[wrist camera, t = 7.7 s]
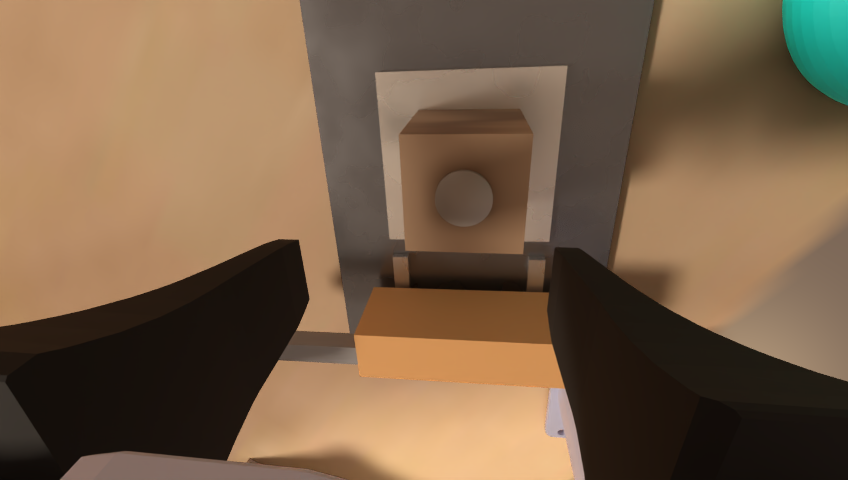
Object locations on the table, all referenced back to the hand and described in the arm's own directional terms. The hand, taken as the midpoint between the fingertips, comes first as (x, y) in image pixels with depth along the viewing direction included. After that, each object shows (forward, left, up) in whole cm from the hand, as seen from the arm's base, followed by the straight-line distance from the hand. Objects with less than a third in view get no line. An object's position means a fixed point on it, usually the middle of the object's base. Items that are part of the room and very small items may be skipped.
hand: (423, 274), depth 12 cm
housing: (-1, -1, -9) cm, 9 cm away
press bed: (-1, +1, -9) cm, 10 cm away
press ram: (+3, +7, -8) cm, 11 cm away
